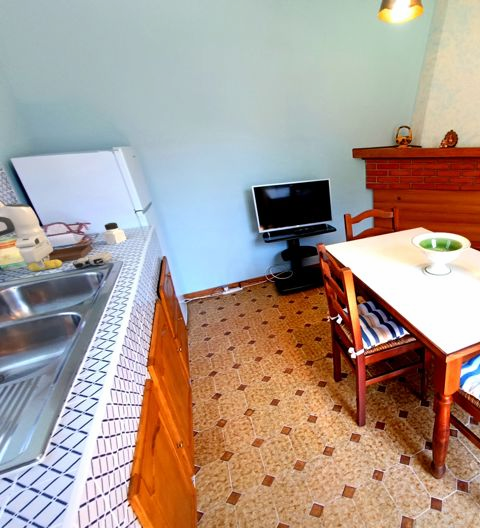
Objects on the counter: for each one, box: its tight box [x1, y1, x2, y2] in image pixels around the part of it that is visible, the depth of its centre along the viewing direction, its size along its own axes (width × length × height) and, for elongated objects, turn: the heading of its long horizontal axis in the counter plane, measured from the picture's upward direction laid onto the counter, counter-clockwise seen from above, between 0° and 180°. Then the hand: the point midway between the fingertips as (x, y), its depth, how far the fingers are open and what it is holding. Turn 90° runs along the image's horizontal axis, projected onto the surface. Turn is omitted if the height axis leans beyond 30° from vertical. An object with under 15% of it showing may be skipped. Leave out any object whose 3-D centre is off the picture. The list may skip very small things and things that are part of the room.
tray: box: [42, 244, 93, 263], centre depth 160 cm, size 19×19×3 cm
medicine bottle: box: [102, 222, 127, 245], centre depth 180 cm, size 7×7×12 cm
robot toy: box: [70, 250, 112, 269], centre depth 146 cm, size 12×4×15 cm
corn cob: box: [28, 260, 63, 272], centre depth 143 cm, size 12×4×4 cm, turn 117°
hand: (45, 266), depth 144 cm, fingers closed on corn cob, 4 cm apart
